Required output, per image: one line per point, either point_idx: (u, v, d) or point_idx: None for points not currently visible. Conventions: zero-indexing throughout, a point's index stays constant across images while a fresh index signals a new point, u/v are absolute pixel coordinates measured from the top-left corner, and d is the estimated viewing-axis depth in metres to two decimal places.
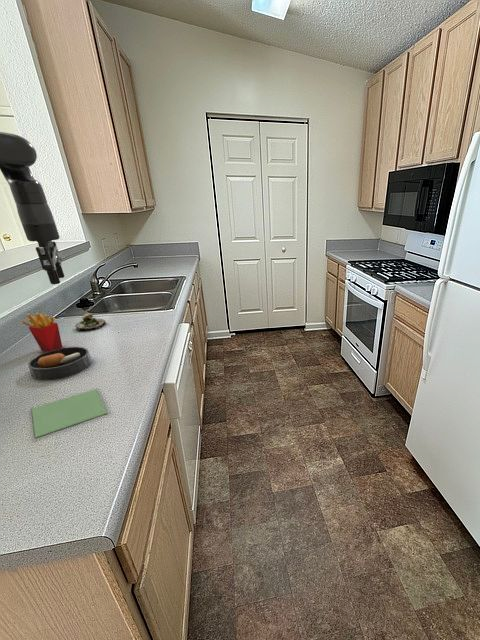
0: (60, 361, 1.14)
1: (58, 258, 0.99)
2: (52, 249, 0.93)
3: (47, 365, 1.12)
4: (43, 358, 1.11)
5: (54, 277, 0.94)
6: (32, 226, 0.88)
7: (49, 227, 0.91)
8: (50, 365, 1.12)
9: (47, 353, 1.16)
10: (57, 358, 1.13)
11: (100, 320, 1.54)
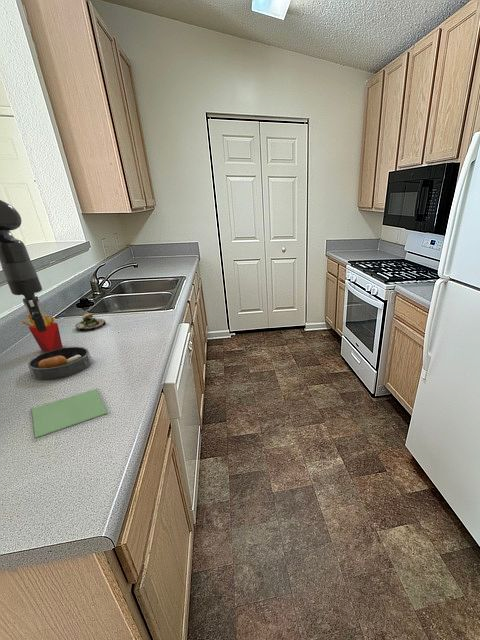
0: None
1: None
2: (37, 300, 1.01)
3: None
4: None
5: (42, 325, 1.02)
6: (19, 282, 0.96)
7: (34, 281, 0.99)
8: None
9: (47, 353, 1.16)
10: None
11: (100, 320, 1.54)
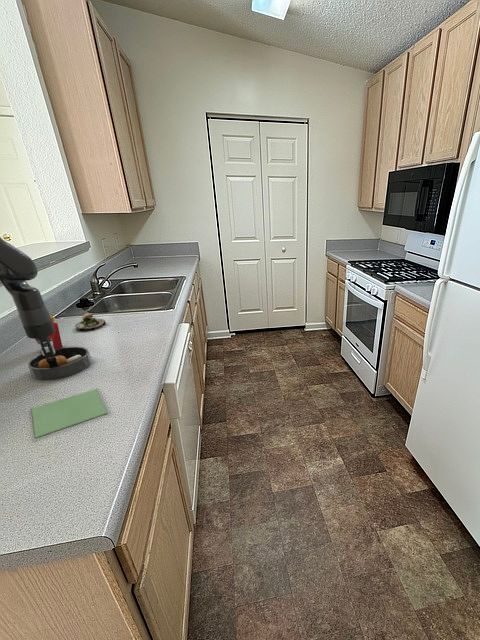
0: None
1: None
2: (50, 342, 1.08)
3: None
4: None
5: (55, 366, 1.10)
6: (34, 327, 1.02)
7: (48, 325, 1.05)
8: None
9: None
10: None
11: (100, 320, 1.54)
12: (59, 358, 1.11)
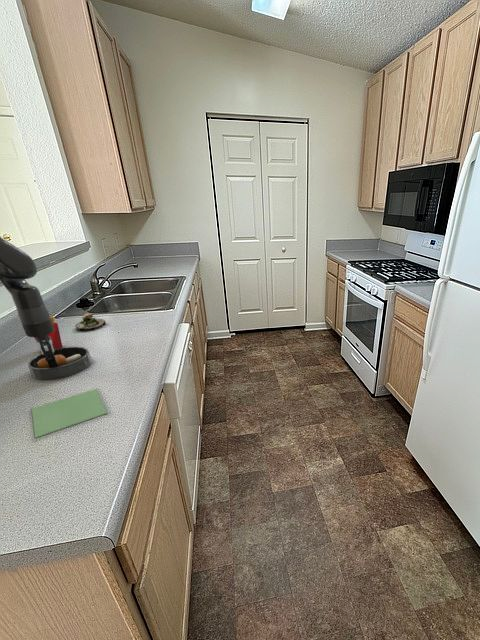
0: None
1: None
2: (49, 340, 1.08)
3: None
4: (46, 367, 1.10)
5: (54, 365, 1.10)
6: (33, 325, 1.02)
7: (47, 323, 1.05)
8: None
9: None
10: None
11: (100, 320, 1.54)
12: (58, 357, 1.11)
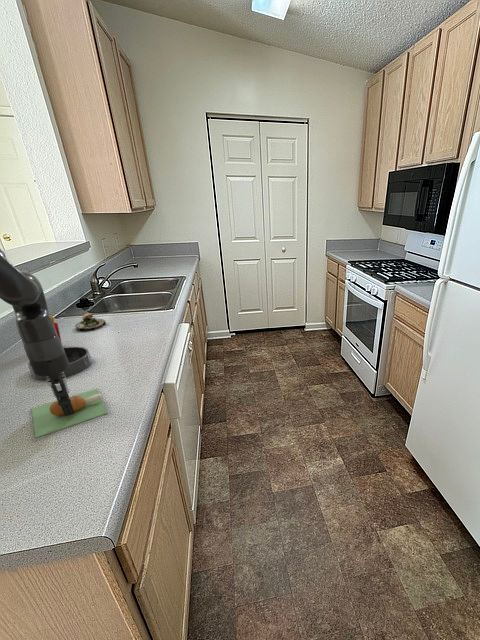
0: None
1: None
2: (63, 379, 0.86)
3: None
4: (60, 415, 0.88)
5: (69, 409, 0.86)
6: (44, 362, 0.80)
7: (61, 358, 0.83)
8: None
9: None
10: None
11: (100, 320, 1.54)
12: (77, 403, 0.89)
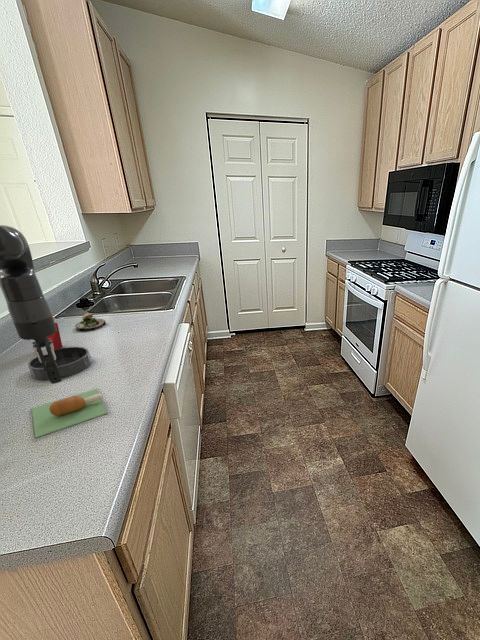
0: None
1: None
2: (50, 344, 0.81)
3: None
4: (60, 414, 0.88)
5: (56, 376, 0.82)
6: (29, 324, 0.76)
7: (48, 321, 0.79)
8: None
9: None
10: None
11: (100, 320, 1.54)
12: (77, 403, 0.89)
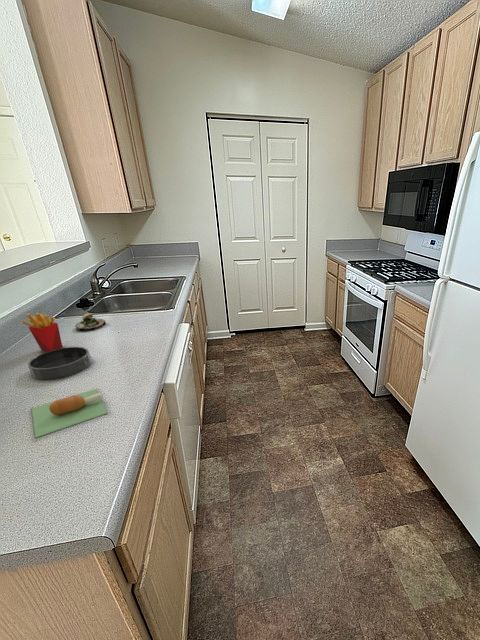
0: None
1: None
2: None
3: None
4: (60, 413, 0.88)
5: None
6: None
7: None
8: None
9: (47, 353, 1.16)
10: (76, 409, 0.91)
11: (100, 320, 1.54)
12: (76, 401, 0.89)
